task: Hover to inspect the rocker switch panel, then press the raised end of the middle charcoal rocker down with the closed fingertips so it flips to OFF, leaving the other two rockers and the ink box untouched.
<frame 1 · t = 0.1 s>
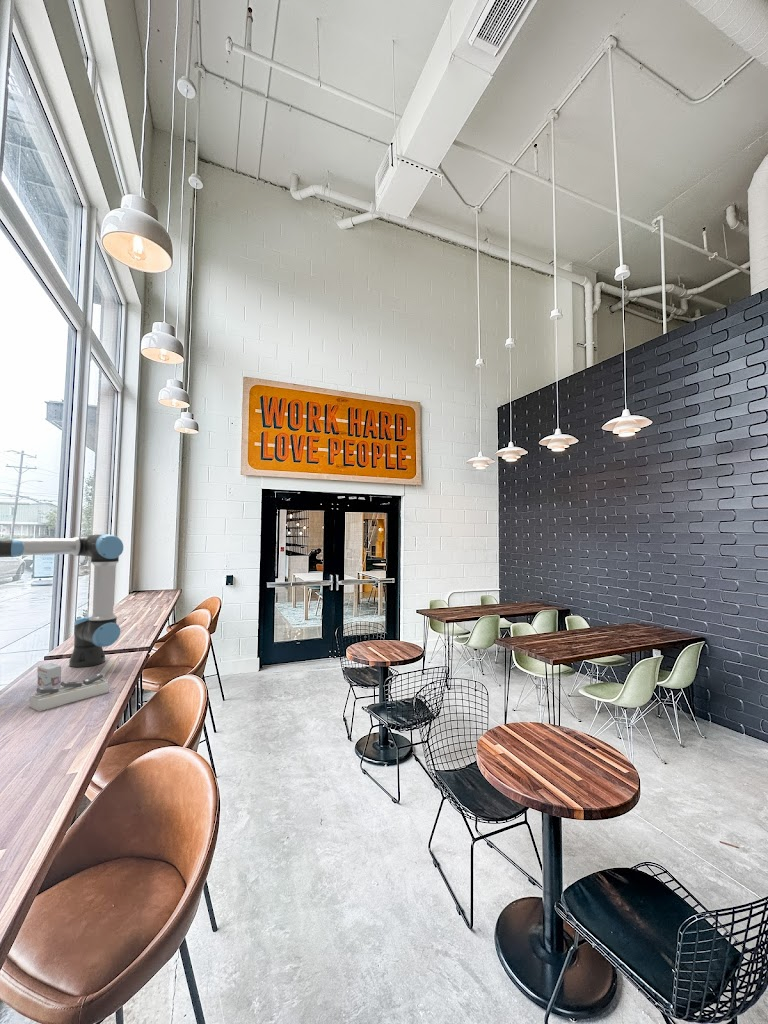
rocker 3: (47, 690, 169), point 6 cm above the bar counter, hinge at -14.0°
rocker 1: (93, 678, 183), point 6 cm above the bar counter, hinge at 14.0°
rocker switch panel: (70, 699, 176), on the bar counter
ink box: (48, 695, 180), on the bar counter
rocker 2: (71, 684, 176), point 6 cm above the bar counter, hinge at -14.0°
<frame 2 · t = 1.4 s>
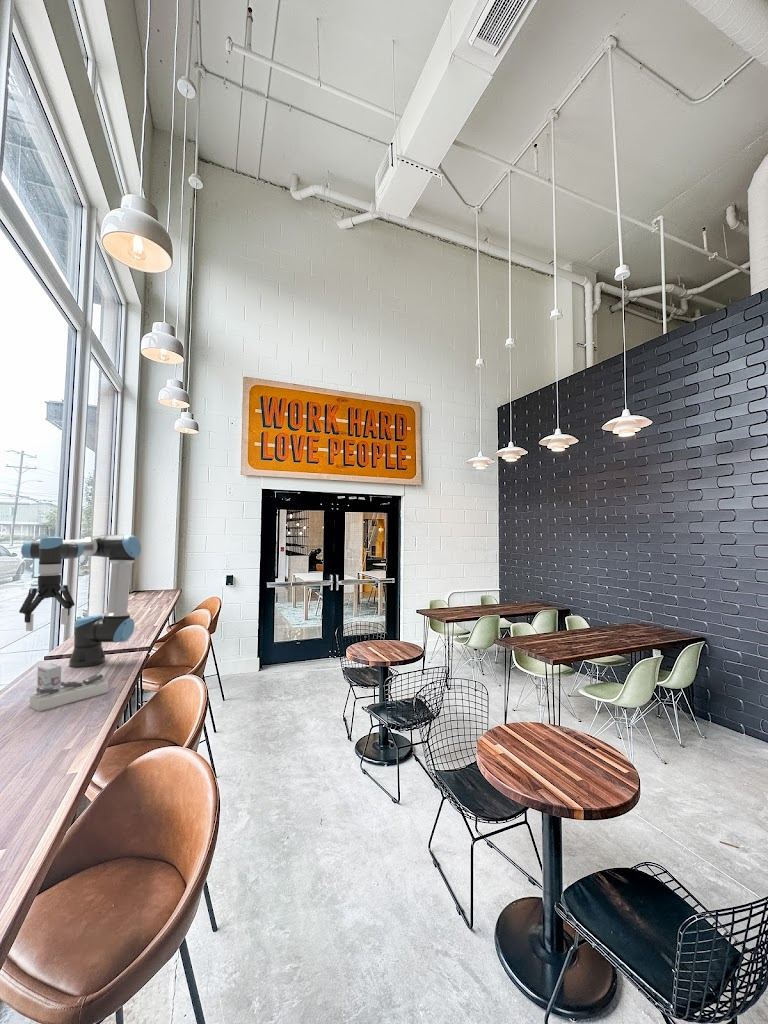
hand: (47, 627, 180), 27 cm above the bar counter, fingers open, 13 cm apart
nothing on the bar counter moved.
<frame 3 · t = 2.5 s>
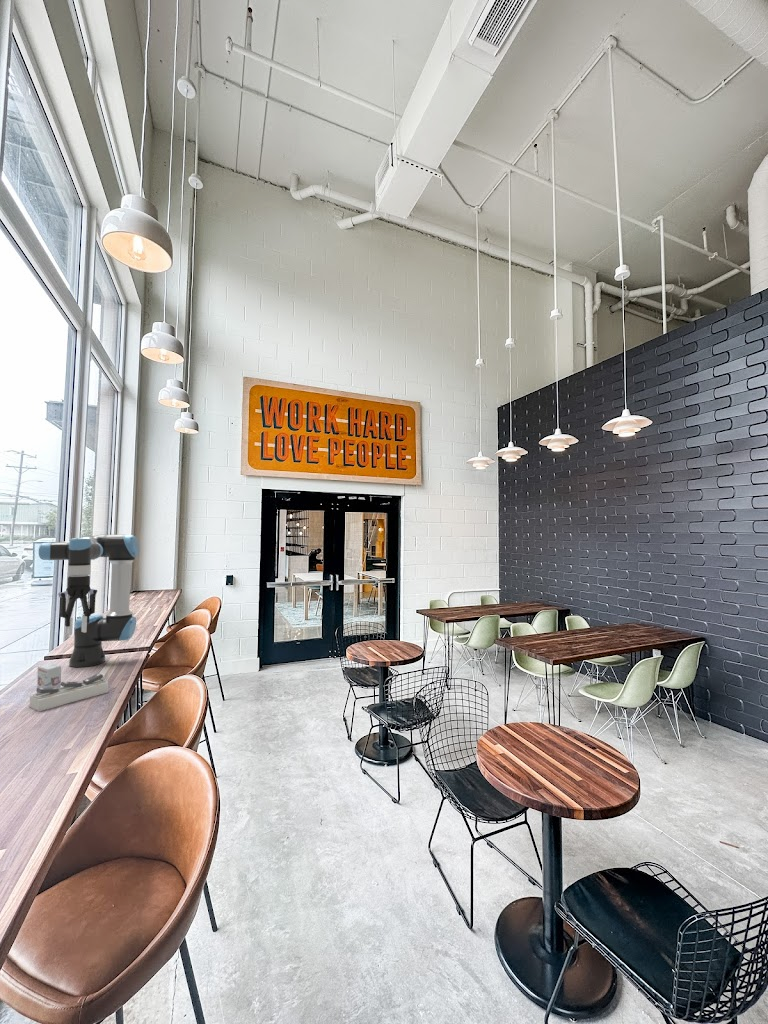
hand: (76, 633, 182), 25 cm above the bar counter, fingers open, 4 cm apart
nothing on the bar counter moved.
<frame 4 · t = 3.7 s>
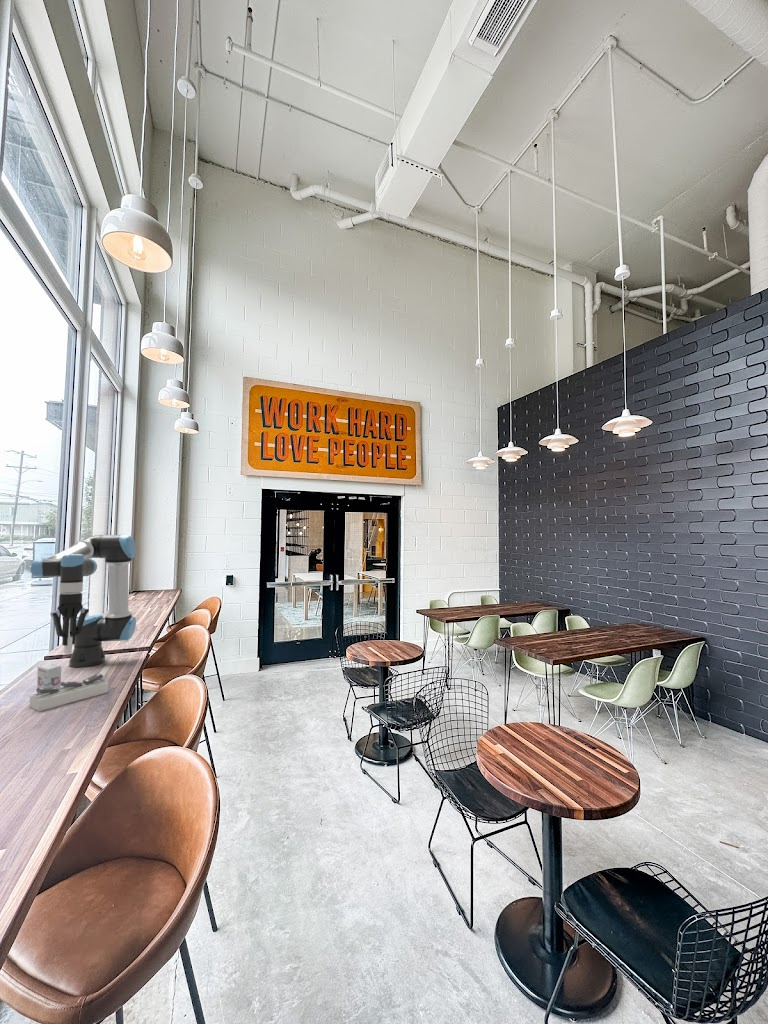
hand: (68, 653, 176), 18 cm above the bar counter, fingers closed
nothing on the bar counter moved.
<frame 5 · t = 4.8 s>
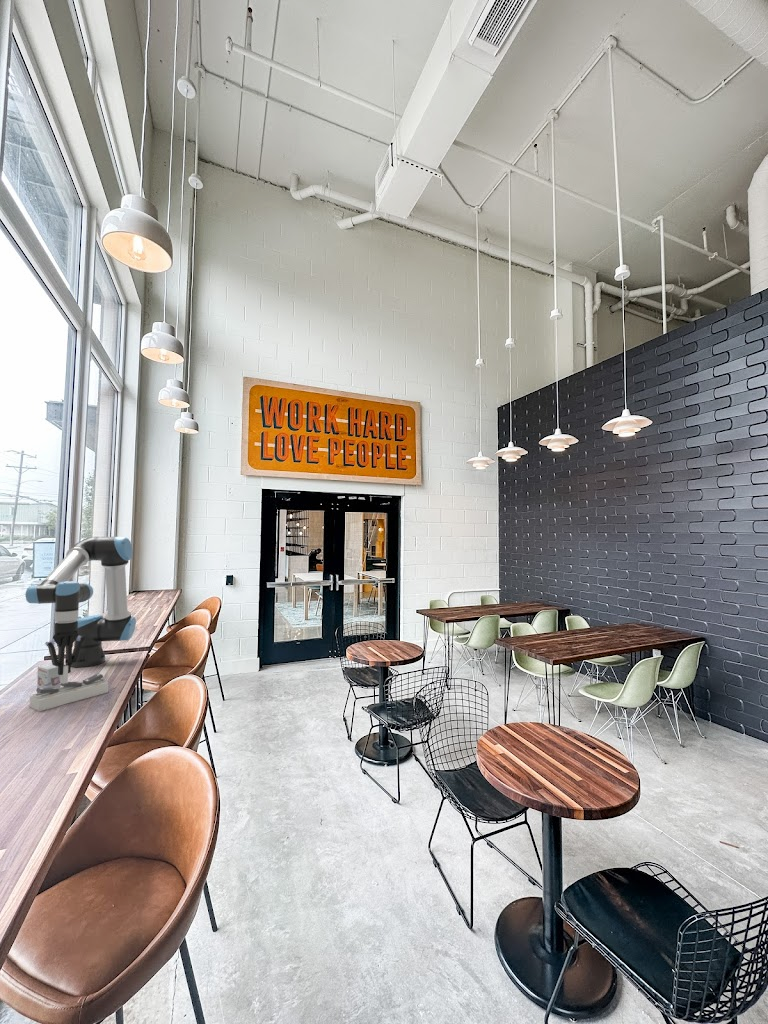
hand: (63, 682, 174), 7 cm above the bar counter, fingers closed
rocker 2: (71, 684, 176), point 6 cm above the bar counter, hinge at -14.0°, touching gripper
everything else where it was.
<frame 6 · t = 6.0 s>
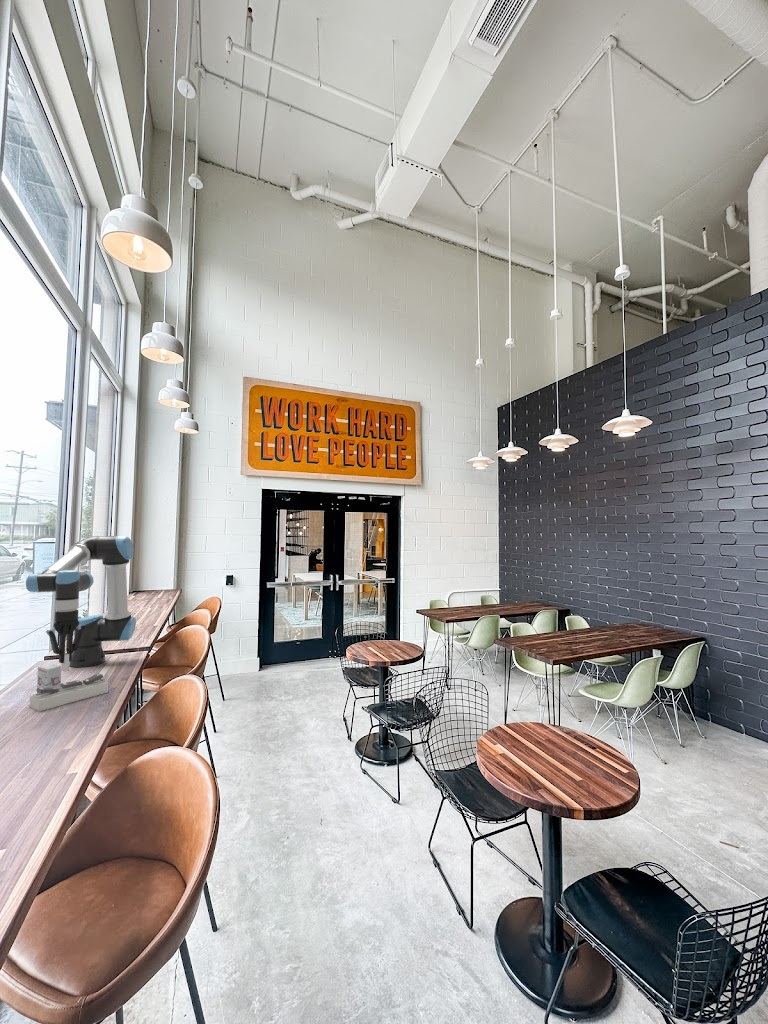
hand: (65, 670, 174), 12 cm above the bar counter, fingers closed
rocker 2: (71, 684, 176), point 6 cm above the bar counter, hinge at -2.8°
everything else where it was.
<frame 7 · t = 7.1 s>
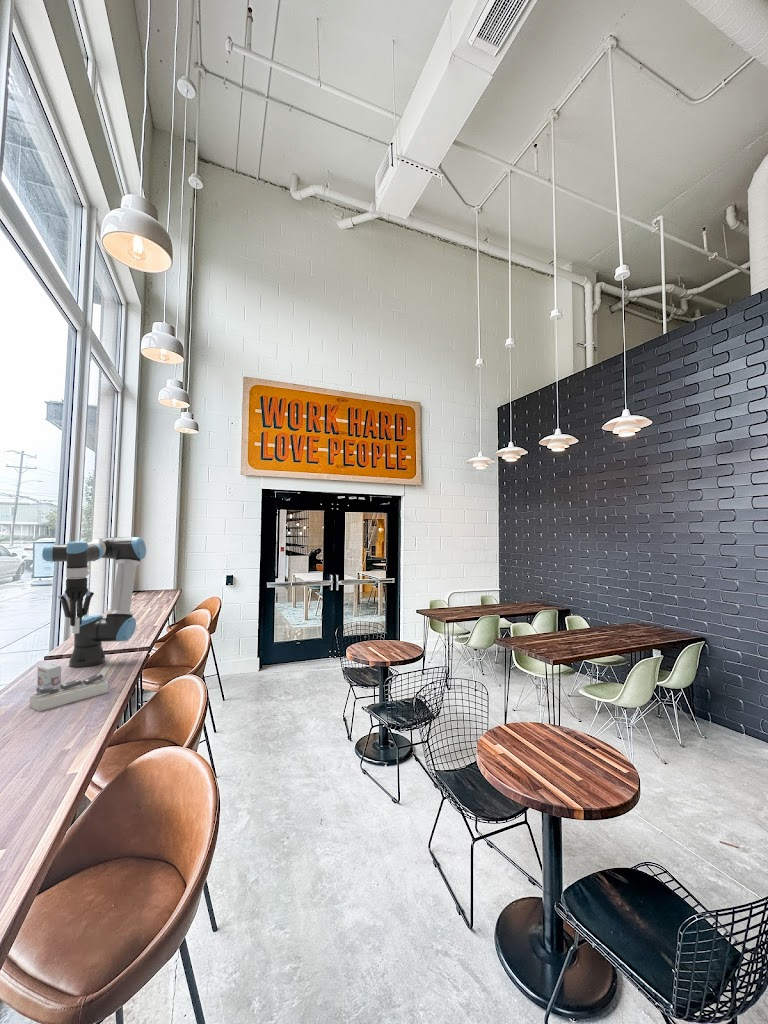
hand: (75, 632, 190), 23 cm above the bar counter, fingers closed
rocker 2: (71, 684, 176), point 6 cm above the bar counter, hinge at 5.1°
everything else where it was.
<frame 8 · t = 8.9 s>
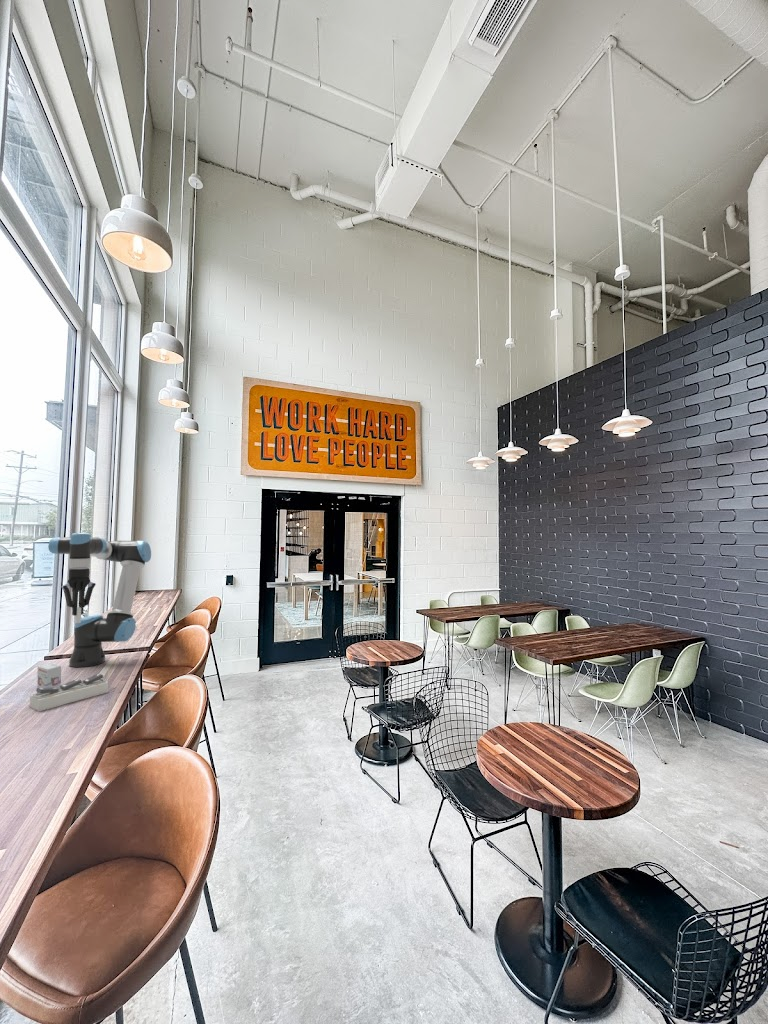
hand: (77, 622, 194), 26 cm above the bar counter, fingers closed
rocker 2: (71, 684, 176), point 6 cm above the bar counter, hinge at 12.1°
everything else where it was.
at the end: rocker 2 at +12° (first picture: -14°); rocker 1 at +14° (first picture: +14°); rocker 3 at -14° (first picture: -14°) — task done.
